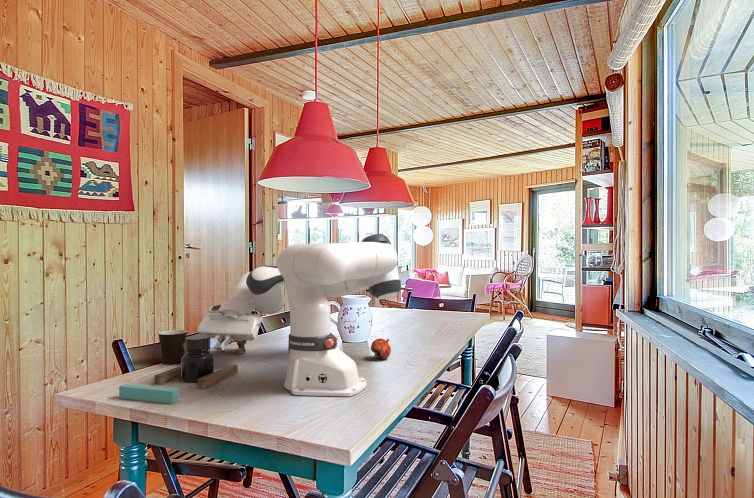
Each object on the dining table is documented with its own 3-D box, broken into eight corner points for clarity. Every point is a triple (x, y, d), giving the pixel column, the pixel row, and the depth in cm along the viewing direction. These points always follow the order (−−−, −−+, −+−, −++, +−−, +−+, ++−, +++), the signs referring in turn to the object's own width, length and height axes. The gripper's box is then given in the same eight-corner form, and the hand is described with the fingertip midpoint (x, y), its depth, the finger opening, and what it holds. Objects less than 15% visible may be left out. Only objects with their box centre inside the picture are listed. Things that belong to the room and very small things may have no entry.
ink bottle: (200, 372, 137) (200, 333, 137) (221, 376, 133) (221, 335, 133) (173, 380, 129) (173, 338, 129) (194, 385, 124) (194, 341, 124)
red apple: (380, 369, 149) (401, 348, 152) (366, 352, 148) (388, 332, 151) (372, 366, 156) (392, 346, 159) (359, 350, 155) (379, 330, 158)
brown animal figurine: (236, 358, 156) (223, 338, 156) (219, 367, 161) (207, 347, 160) (257, 343, 167) (246, 324, 167) (241, 351, 171) (230, 333, 171)
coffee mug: (176, 366, 144) (176, 335, 144) (152, 364, 146) (152, 334, 146) (197, 357, 155) (197, 328, 155) (175, 356, 157) (175, 327, 157)
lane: (237, 373, 136) (237, 364, 136) (204, 389, 121) (204, 379, 121) (192, 369, 141) (192, 361, 141) (154, 384, 125) (154, 375, 125)
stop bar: (178, 401, 111) (178, 389, 111) (172, 404, 109) (172, 391, 109) (125, 395, 116) (125, 383, 116) (119, 398, 114) (119, 386, 114)
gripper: (267, 320, 149) (251, 356, 140) (214, 317, 155) (195, 352, 145) (260, 308, 145) (243, 345, 135) (205, 306, 150) (186, 341, 141)
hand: (218, 349), depth 140 cm, fingers closed
